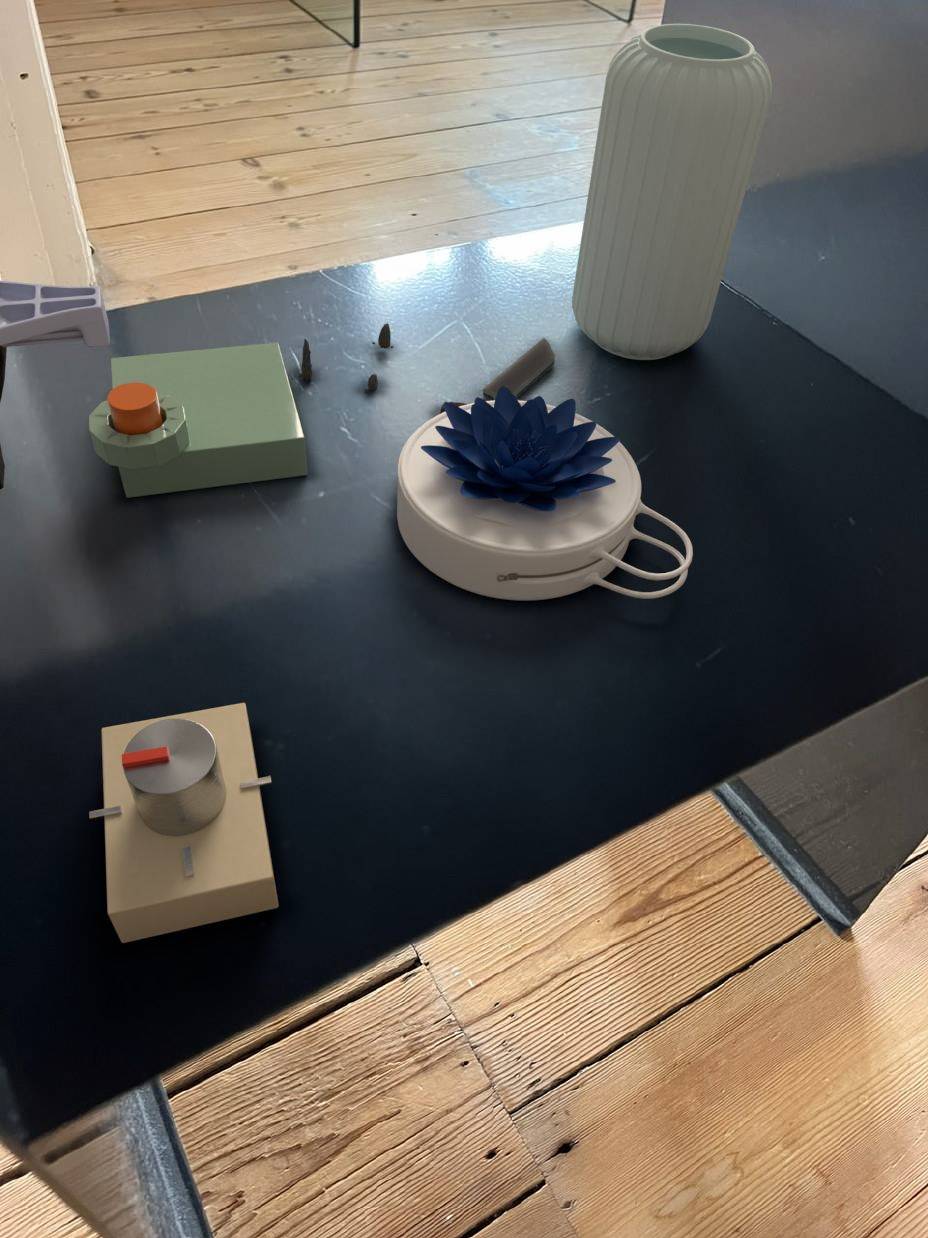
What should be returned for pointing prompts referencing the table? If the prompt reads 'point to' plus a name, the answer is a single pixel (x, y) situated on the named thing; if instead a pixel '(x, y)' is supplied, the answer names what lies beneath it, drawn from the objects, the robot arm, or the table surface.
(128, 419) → the push button
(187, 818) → the dial
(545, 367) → the knife
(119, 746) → the beige rotary knob box
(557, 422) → the round zippered pouch
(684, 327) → the vase
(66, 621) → the table surface
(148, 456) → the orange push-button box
